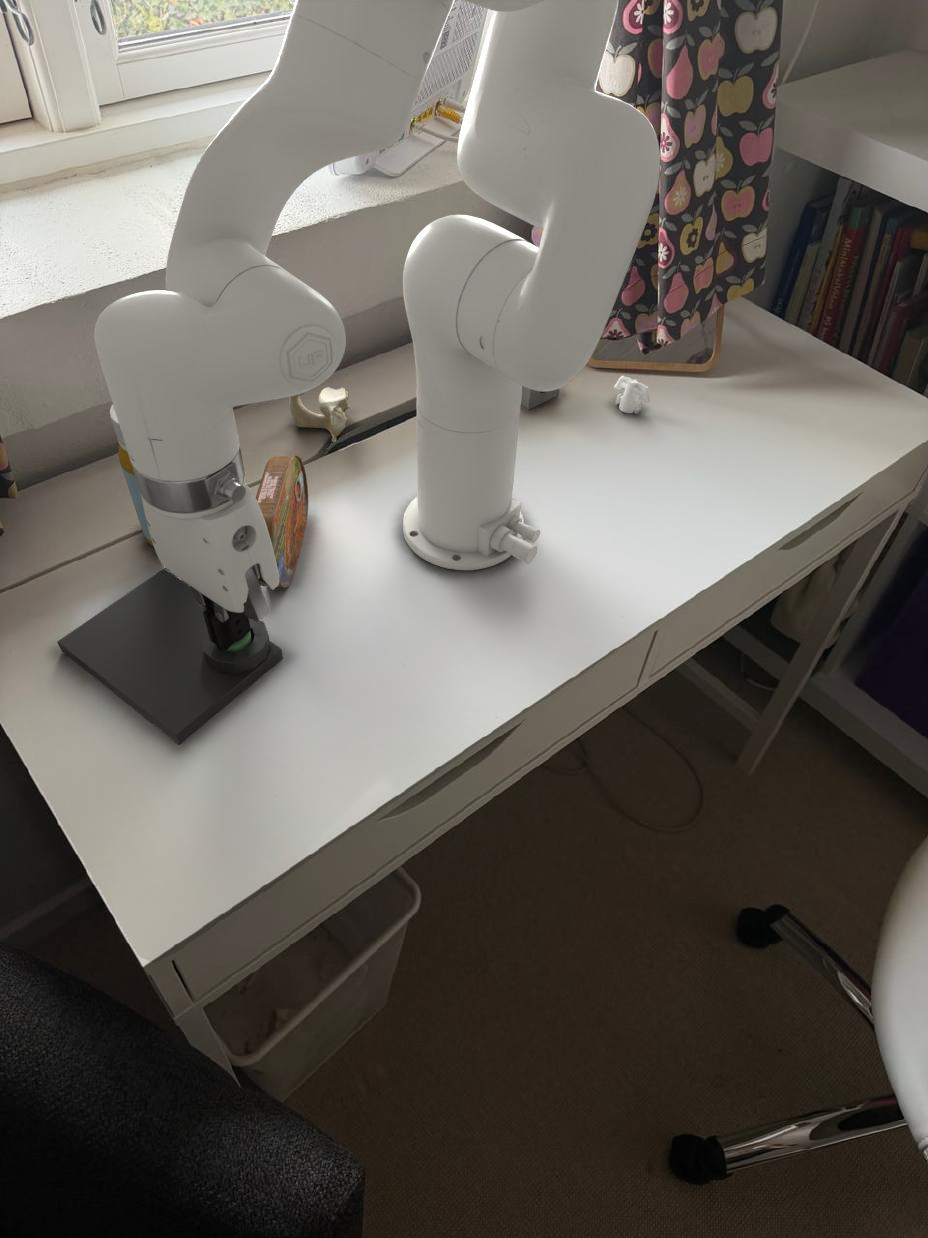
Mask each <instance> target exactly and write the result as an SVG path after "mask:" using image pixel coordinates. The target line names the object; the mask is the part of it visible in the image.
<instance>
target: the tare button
mask: <svg viewBox="0 0 928 1238" xmlns="http://www.w3.org/2000/svg"><path fill="white" fill-rule="evenodd" d="M250 644H252V638H251V633H250V631H249V632H248V633H247V634H246V636H245V637H244V638H242V639H241V640H240V641H238V642H235V643H234V644H233V645H232V646H230V647H229V648H228V649H227V650H223V649H221V648H220V649H221V650H223V651H226V652H237V651H240V650H244V649H245V648H247V647H248V646H249V645H250Z"/></svg>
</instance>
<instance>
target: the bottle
mask: <svg viewBox="0 0 928 1238" xmlns="http://www.w3.org/2000/svg"><path fill="white" fill-rule="evenodd" d="M109 419H110V421H111V424H112V426H113V430H114V433H115V436H116V438H117V442H118V450H117V451H118V454H117V456H118V459H119V464H120V467H121V470H122V473H123V476H124V479H125V481H126V484H127V488H128V491H129V494H130V496H131V501H132V503H133V506H134V509H135V513H136V515H137V519H138V521H139V524H140V528H141V531H142V533H143V536H144V538H145V541H147V542H148V543H149V544H150V545H151V546H153V543H152V540H151V536H150V533H149V529H148V525H147V521H146V517H145V512H144V508H143V502H142V497H141V494H140V491H139V487H138V484H137V481H136V478H135V474H134V471H133V468H132V465H131V461H130V458H129V455H128V452H127V448H126V445H125V442H124V438H123V435H122V432H121V429H120V425H119V422H118V419H117V416H116V412H115V409H114V406H113V404H111V406H110V409H109Z"/></svg>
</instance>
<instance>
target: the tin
mask: <svg viewBox="0 0 928 1238" xmlns="http://www.w3.org/2000/svg"><path fill="white" fill-rule="evenodd" d="M307 479H308V477H307V473H306V468H305V465H304V462H303V459H302V458H301V456H300V455H298V454H293V455H274V456H272V457H270V458H269V459H268V461H267V462H266V464H265V467H264V470H263V473H262V477H261V479H260V482H259V485H258V489H257V492H256V496H255V498H256V500H257V502H258V504H259V507H260V509H261V512H262V514H263V517H264V520H265V523H266V526H267V529H268V532H269V536H270V539H271V543H272V547H273V550H274V555H275V559H276V563H277V568H278V573H279V585H278V586H277V587H276V588H279V587H280V588H284V589H287V588H288V587H289V586H290V585H291V584H292V582H293V580H294V576H295V574H296V568H297V564H298V560H299V556H300V553H301V548H302V545H303V540H304V538H305V537H304V536H305V532H306V528H307V523H308V516H309V489H308V480H307ZM259 584H260V587H261V586H262V587H266V586H265V585H264V584H262V583H261V582H259Z"/></svg>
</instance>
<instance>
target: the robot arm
mask: <svg viewBox="0 0 928 1238" xmlns="http://www.w3.org/2000/svg"><path fill="white" fill-rule="evenodd" d="M455 1H456V0H295V3H294V5H293V9H292V13H291V15H290V18H289V22H288V24H287V29H286V30H285V34H284V38H283V42H282V45H281V48H280V50H279V53H278V55H277V59H276V62H275V64H274V67H273V69H272V71H271V73H270V74H269V76H268V77H267V79H266V80H265V81H264V82H263V84H262V85H260V87H258V88H257V90H256V91H255V92H254V93H252V95H250V96H249V97H248V98H247V99H246V100H245V101H244V102H243V103H242V104H241V105H240V107H239V108H238V109H237V110H236V111H235V112H234V114H232V116H231V117H230V119H229V120H228V121H227V122H226V123H225V125H224V126H223V127H222V128H221V130H220V131H219V132H218V133H217V134H216V135H215V137H214V138H213V139H212V140H211V142H210V143H209V145H208V146H207V147H206V149H205V150H204V151H203V153H202V155H201V156H200V158H199V160H198V161H197V164H196V166H194V170H193V171H192V174H191V176H190V178H189V181H188V184H187V186H186V189H185V192H184V195H183V198H182V201H181V206H180V209H179V212H178V216H177V220H176V223H175V226H174V230H173V233H172V237H171V241H170V244H169V249H168V253H167V259H166V267H165V278H164V279H165V290H147V291H141V292H140V291H139V292H136V293H132V294H129V295H126V296H123V297H120V298H119V299H117V300H115V301H114V302H112V303H110V304H109V305H108V306H107V307H105V308H104V310H102V312H100V313H99V316H98V318H97V320H96V321H95V324H94V331H93V340H94V345H95V349H96V353H97V357H98V360H99V364H100V367H101V369H102V373H103V376H104V380H105V382H106V386H107V389H108V393H109V395H110V399H111V402H112V405H113V406H114V409H115V412H116V416H117V419H118V422H119V425H120V429H121V432H122V435H123V438H124V442H125V445H126V448H127V452H128V455H129V458H130V461H131V465H132V468H133V471H134V474H135V478H136V481H137V484H138V487H139V491H140V494H141V497H142V502H143V508H144V512H145V517H146V521H147V525H148V529H149V533H150V536H151V540H152V543H153V545H152V546H153V548H154V551H155V554H156V556H157V558H158V560H159V562H160V563H161V564H162V565H163V566H164V567H165V569H166V570H167V571H168V572H170V573H171V574H173V575H174V576H176V577H177V578H178V579H180V580H181V581H183V582H184V583H186V584H187V585H189V586H190V587H191V590H192V592H193V595H194V597H195V600H196V602H197V604H198V605H199V606H200V607H201V608H202V609H206V610H205V611H204V612H203V615H204V619H205V623H206V626H207V630H208V634H209V637H210V641H211V642H213V643H214V644H218V645H219V647H220V648H221V649H223V650H227V649H228V648H229V647H230V646H232V645H233V644H234V643H235V642H238V641H240V640H241V639H242V638H244V637H245V636H246V634H247V633H248V632H249V631H250V629H251V627H250V623H249V618H250V619H252V620H254V621H257V622H258V621H260V620H261V621H262V619H264V618H265V617H266V616H267V615H269V614H270V612H271V611H270V607H269V606H268V605H269V604H268V603H267V602H268V601H267V600H266V596H265V595H264V592H263V589H262V587H261V585H260V584H259V582H261V583H262V584H264V585H265V586H264V587H267V588H269V589H270V590H272V591H274V590H275V589H276V588H278V587H277V586H278V585H279V573H278V568H277V563H276V559H275V555H274V550H273V547H272V543H271V539H270V536H269V532H268V529H267V526H266V523H265V520H264V517H263V514H262V512H261V509H260V507H259V504H258V502H257V500H256V496H255V493H254V491H253V490H252V489H251V488H250V486H248V485H247V476H246V470H245V466H244V461H243V455H242V451H241V444H240V438H239V432H238V428H237V423H236V418H235V417H236V416H235V413H234V408H235V407H241V406H246V405H251V404H257V403H263V402H269V401H275V400H279V399H280V400H281V399H286V398H289V397H291V396H294V395H298V394H301V393H304V392H305V393H306V392H309V391H312V390H313V389H315V388H317V387H319V386H320V385H321V384H324V383H325V382H326V381H327V380H328V379H329V378H330V377H331V376H333V375H334V373H335V372H336V371H337V369H338V367H339V366H340V364H341V362H342V361H343V358H344V355H345V352H346V345H347V335H346V334H347V333H346V329H345V325H344V322H343V320H342V318H341V316H340V314H339V312H338V311H337V310H336V308H335V307H334V305H332V304H331V302H330V301H329V300H328V299H327V298H325V296H323V295H322V294H321V293H320V292H318V291H317V290H315V289H314V288H313V287H311V286H310V285H308V284H306V283H305V282H304V281H302V280H301V279H299V278H298V277H296V276H295V275H294V274H292V273H291V272H289V271H288V270H286V269H285V268H284V267H282V266H280V265H279V264H277V263H276V262H275V261H273V260H271V259H270V258H269V257H267V256H266V255H267V251H268V248H269V245H270V242H271V239H272V237H273V233H274V231H275V228H276V225H277V223H278V220H279V218H280V216H281V213H282V212H283V210H284V209H285V206H286V204H287V202H288V201H289V200H290V198H291V197H292V195H294V193H295V192H296V190H297V189H298V188H299V187H300V186H301V185H302V184H303V183H304V182H305V181H306V180H307V179H309V178H310V176H312V175H313V174H314V173H316V172H319V171H320V170H322V169H324V168H325V167H327V166H330V165H332V164H334V163H338V162H341V161H343V160H347V159H351V158H354V157H357V156H361V155H365V154H370V153H374V152H379V151H382V150H386V149H388V148H390V147H392V146H394V145H396V144H397V143H398V142H399V141H400V140H401V139H402V138H403V136H404V134H405V133H406V130H407V127H408V124H409V122H410V119H411V116H412V113H413V110H414V108H415V105H416V102H417V99H418V97H419V95H420V92H421V90H422V87H423V83H424V81H425V78H426V75H427V73H428V69H429V67H430V65H431V62H432V60H433V57H434V54H435V52H436V49H437V47H438V44H439V42H440V39H441V36H442V34H443V31H444V29H445V25H446V24H447V20H448V18H449V15H450V14H451V11H452V9H453V7H454V3H455ZM463 1H464V2H467V3H471V4H472V5H476V6H479V7H482V8H484V9H488V10H490V11H491V15H490V19H489V23H488V27H487V30H486V34H485V38H484V41H483V45H482V49H481V52H480V55H479V60H478V64H477V67H476V71H475V74H474V78H473V81H472V85H471V89H470V92H469V96H468V100H467V103H466V107H465V111H464V115H463V119H462V123H461V127H460V132H459V138H458V144H457V153H456V163H457V167H458V172H459V175H460V177H461V178H462V181H463V182H464V184H465V185H466V186H467V187H468V188H469V189H470V190H471V191H472V192H473V194H475V195H477V196H478V197H480V198H481V199H482V200H484V201H485V202H487V203H489V204H490V205H493V206H495V207H496V208H498V209H500V210H502V211H504V212H506V213H508V214H510V215H512V216H514V217H516V218H518V219H520V220H522V221H524V222H526V223H528V224H529V225H532V226H533V227H536V228H538V229H539V230H542V232H541V236H540V242H539V246H537V245H534V244H533V243H532V242H530V241H528V240H527V239H525V238H523V237H520V236H519V235H516V234H515V233H513V232H512V231H509V230H508V229H505V228H504V227H501V226H499V225H497V224H495V223H493V222H491V221H488V220H486V219H484V218H480V217H476V216H472V215H469V214H450V215H446V216H443V217H440V218H437V219H435V220H433V221H432V222H430V223H428V224H427V225H426V226H425V227H424V228H423V229H421V231H420V232H419V233H418V234H417V235H416V237H415V238H414V240H413V242H412V243H411V245H410V248H409V250H408V252H407V255H406V258H405V262H404V265H403V271H402V272H403V274H402V292H403V293H402V294H403V303H404V307H405V313H406V318H407V322H408V327H409V330H410V336H411V339H412V340H411V341H412V347H413V355H414V361H415V362H414V363H415V377H416V378H415V384H416V385H415V386H416V403H415V405H416V408H415V409H416V478H417V479H416V481H417V482H416V484H417V488H416V489H417V490H416V491H417V496H415V498H413V499H412V500H411V502H410V503H409V504H408V505H407V507H406V508H405V510H404V514H403V518H402V532H403V536H404V539H405V542H406V543H407V545H408V546H409V548H410V549H411V550H412V551H413V552H414V554H416V555H417V556H418V557H419V558H421V559H422V560H424V561H426V562H428V563H430V564H432V565H434V566H437V567H441V568H444V569H449V570H456V571H475V570H483V569H487V568H491V567H494V566H496V565H498V564H500V563H502V562H504V561H506V560H508V559H509V558H510V557H513V558H515V559H517V560H519V561H521V562H523V563H524V564H527V565H528V564H530V563H532V562H533V561H534V559H535V558H536V556H537V552H538V546H536V545H535V544H533V543H536V542H537V540H538V539H539V538H540V535H541V530H540V529H538V528H536V527H534V526H532V525H530V524H527V523H525V518H524V517H525V516H524V515H523V513H522V510H521V508H522V502H521V501H519V500H517V499H515V498H513V491H514V482H515V481H514V480H515V469H516V458H517V450H518V449H517V447H518V436H519V427H520V426H519V424H520V413H521V407H522V405H521V398H522V386H524V387H526V388H529V389H532V390H536V391H552V390H556V389H559V390H560V389H561V388H564V387H565V386H566V385H568V384H569V383H571V382H572V381H573V380H575V378H576V377H578V376H579V374H580V373H581V372H582V371H583V370H584V368H585V367H586V365H587V364H588V363H589V361H590V359H591V357H592V356H593V354H594V352H595V350H596V349H597V347H598V345H599V342H600V340H601V338H602V336H603V333H604V331H605V328H606V326H607V323H608V321H609V319H610V316H611V313H612V311H613V308H614V306H615V304H616V301H617V299H618V296H619V293H620V291H621V288H622V287H623V283H624V281H625V278H626V276H627V273H628V270H629V268H630V265H631V263H632V261H633V258H634V255H635V254H636V250H637V248H638V245H639V242H640V240H641V238H642V235H643V232H644V231H645V228H646V224H647V222H648V219H649V217H650V214H651V210H652V208H653V206H654V202H655V199H656V195H657V191H658V186H659V180H660V172H661V171H660V170H661V151H660V144H659V139H658V136H657V132H656V130H655V128H654V127H653V124H652V123H651V122H650V120H649V119H648V117H647V116H646V115H645V114H644V113H643V112H642V111H640V109H637V108H636V107H634V106H633V105H632V104H630V103H628V102H626V101H624V100H621V99H620V98H617V97H614V96H611V95H609V94H606V93H603V92H600V91H598V90H597V83H598V80H599V76H600V72H601V69H602V65H603V62H604V58H605V55H606V51H607V48H608V45H609V41H610V37H611V34H612V31H613V28H614V24H615V22H616V21H615V20H616V17H617V11H618V7H619V0H463ZM305 393H304V394H305ZM525 539H526V540H525ZM527 540H528V541H527ZM529 541H530V542H529Z"/></svg>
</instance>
